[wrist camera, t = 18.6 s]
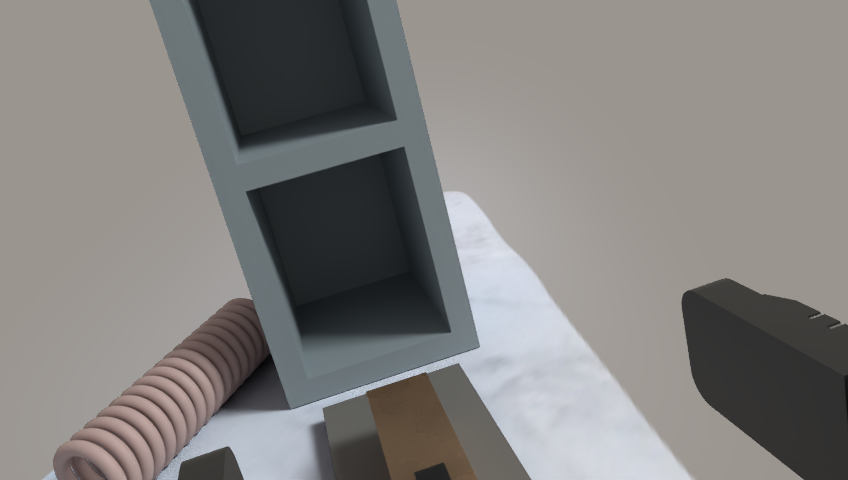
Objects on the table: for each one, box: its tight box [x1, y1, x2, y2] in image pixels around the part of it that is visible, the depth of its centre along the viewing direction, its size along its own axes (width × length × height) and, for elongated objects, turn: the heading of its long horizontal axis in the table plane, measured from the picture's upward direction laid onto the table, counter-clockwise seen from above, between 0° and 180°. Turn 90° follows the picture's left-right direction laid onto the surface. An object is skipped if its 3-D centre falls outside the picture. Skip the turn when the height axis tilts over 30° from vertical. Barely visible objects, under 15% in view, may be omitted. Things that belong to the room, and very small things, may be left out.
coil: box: [53, 298, 271, 480], centre depth 44 cm, size 5×5×18 cm
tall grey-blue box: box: [150, 0, 480, 409], centre depth 46 cm, size 14×12×32 cm
